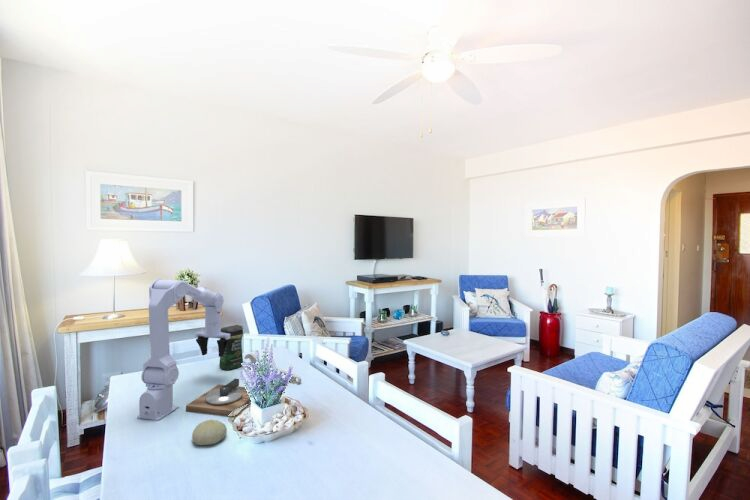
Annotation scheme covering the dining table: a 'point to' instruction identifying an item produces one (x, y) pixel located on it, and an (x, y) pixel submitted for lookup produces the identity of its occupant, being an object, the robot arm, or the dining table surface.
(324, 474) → the dining table surface
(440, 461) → the dining table surface
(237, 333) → the coffee jar
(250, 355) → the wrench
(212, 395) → the dial
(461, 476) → the dining table surface
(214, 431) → the sea urchin shell
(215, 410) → the dial base
